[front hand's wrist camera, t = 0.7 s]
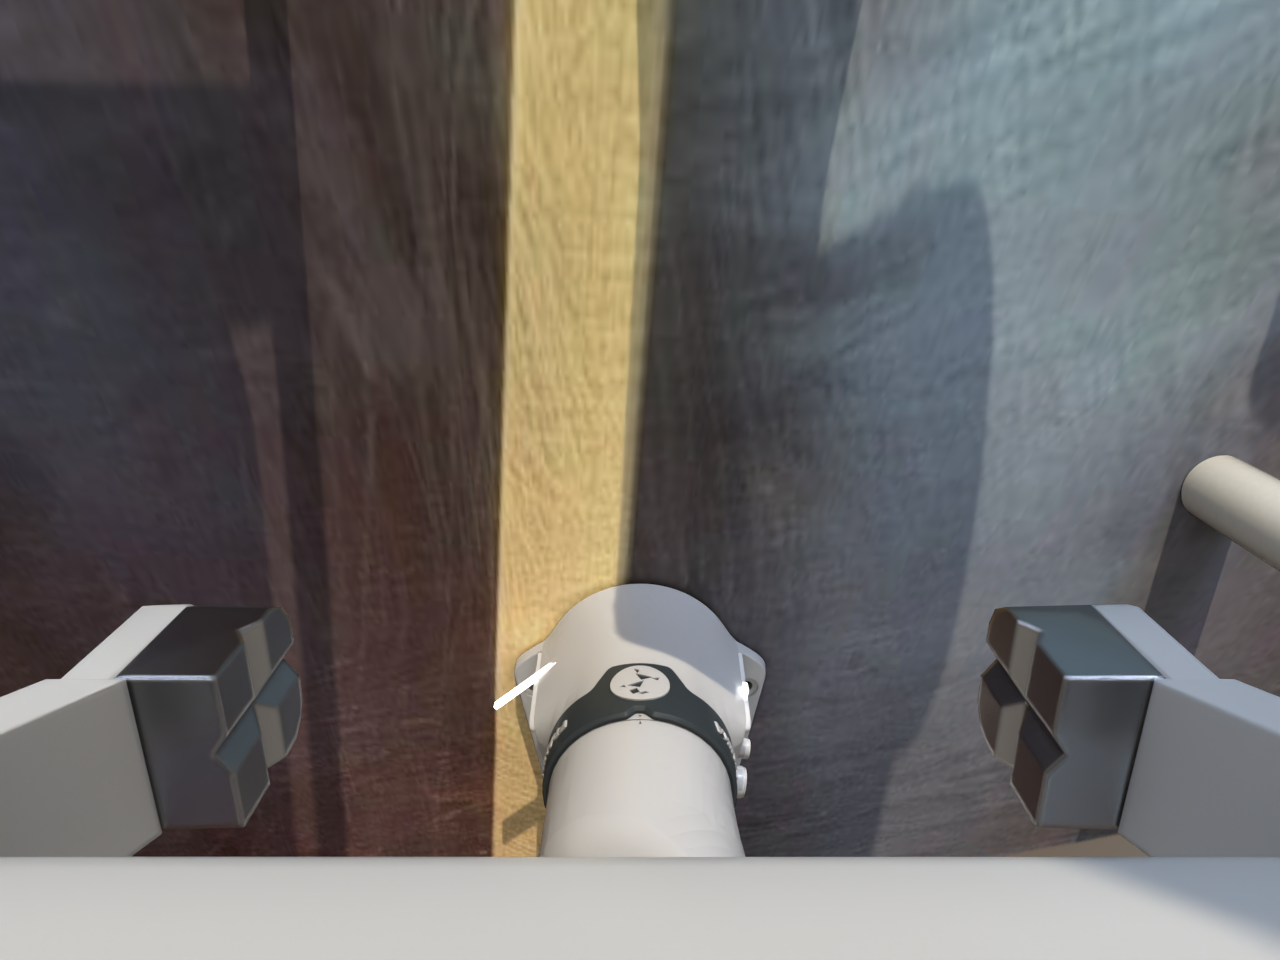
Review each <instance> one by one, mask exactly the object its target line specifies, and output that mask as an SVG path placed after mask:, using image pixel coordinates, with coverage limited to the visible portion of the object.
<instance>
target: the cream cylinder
mask: <svg viewBox="0 0 1280 960" xmlns="http://www.w3.org/2000/svg"><path fill="white" fill-rule="evenodd" d="M1181 498H1182V502H1183V505H1184V507H1185V508H1186V510H1187V511H1188V512H1189V513H1190V514H1192V515H1193V516H1195V517H1196V518H1198V519H1199V520H1201V521H1203V522H1204V523H1206V524H1207V525H1209V526H1210V527H1212V528H1213V529H1215V530H1216V531H1218V532H1219V533H1221V534H1223V535H1224V536H1226V537H1227V538H1229V539H1230V540H1232V541H1233V542H1235V543H1236V544H1238V545H1239V546H1241V547H1243V548H1244V549H1246V550H1247V551H1249V552H1250V553H1252V554H1253V555H1255V556H1256V557H1258V558H1260V559H1261V560H1263V561H1264V562H1266V563H1267V564H1269V565H1270V566H1272V567H1273V568H1275V569H1276V570H1278V571H1280V479H1278V478H1276V477H1274V476H1272V475H1270V474H1268V473H1266V472H1264V471H1262V470H1260V469H1258V468H1256V467H1254V466H1252V465H1250V464H1248V463H1246V462H1244V461H1242V460H1240V459H1238V458H1235V457H1232V456H1215V457H1212V458H1209V459H1206V460H1204V461H1202V462H1201V463H1199V464H1198V465H1197V466H1195V467H1194V468H1193V469H1192V470H1191V471H1190V473H1189V474H1188V475H1187V477H1186V478H1185V481H1184V483H1183V486H1182V490H1181Z"/></svg>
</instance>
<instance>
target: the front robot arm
mask: <svg viewBox="0 0 1280 960" xmlns="http://www.w3.org/2000/svg"><path fill="white" fill-rule="evenodd" d="M293 642H294V639H293V634H292V629H291V624H290V619H289V616H288V614H287V613H286V612H285V611H284V610H283V609H282V607H266V606H212V605H196V606H193V605H191V604H179V605H152V606H142V607H141V608H140V609H139V610H138V611H137V612H135V613H134V614H133V615H132V616H131V617H130V618H129V619H128V620H126V621H125V622H124V623H123V624H122V625H121V626H120V627H119V628H117V629H116V630H115V631H114V632H113V633H112V634H111V635H110V636H108V637H107V638H106V639H105V640H104V641H103V642H102V643H101V644H99V645H98V646H97V647H96V648H95V649H94V650H93V651H92V652H90V653H89V654H88V655H87V656H86V657H85V658H84V659H83V660H81V661H80V662H79V663H78V664H77V665H76V666H75V667H74V668H72V669H71V670H70V671H69V672H68V673H67V674H66V675H65V676H63V677H62V678H61V679H45V680H43V681H40V682H38V683H35V684H33V685H30V686H28V687H25V688H22V689H20V690H17V691H15V692H12V693H10V694H7V695H5V696H2V697H0V960H1280V697H1278V696H1275V695H1273V694H1270V693H1268V692H1265V691H1263V690H1260V689H1257V688H1255V687H1252V686H1250V685H1247V684H1245V683H1242V682H1240V681H1237V680H1235V679H1219V678H1218V677H1217V676H1215V675H1214V674H1213V673H1212V672H1211V671H1210V670H1209V669H1208V668H1206V667H1205V666H1204V665H1203V664H1202V663H1201V662H1200V661H1199V660H1198V659H1196V658H1195V657H1194V656H1193V655H1192V654H1191V653H1190V652H1189V651H1187V650H1186V649H1185V648H1184V647H1183V646H1182V645H1181V644H1180V643H1178V642H1177V641H1176V640H1175V639H1174V638H1173V637H1172V636H1171V635H1169V634H1168V633H1167V632H1166V631H1165V630H1164V629H1163V628H1162V627H1161V626H1159V625H1158V624H1157V623H1156V622H1155V621H1154V620H1153V619H1152V618H1150V617H1149V616H1148V615H1147V614H1146V613H1145V612H1144V611H1143V610H1141V609H1140V608H1139V607H1136V606H1132V605H1129V604H1117V605H1094V606H1091V605H1066V606H1024V607H1003V608H998V609H995V611H994V613H993V615H992V617H991V620H990V622H989V627H988V633H987V639H986V642H987V644H988V646H989V647H990V649H991V650H992V652H993V653H994V655H995V656H996V658H997V659H996V660H995V661H994V662H993V663H992V664H991V665H990V666H989V667H988V668H987V669H986V670H985V671H984V672H983V673H982V675H981V677H980V685H979V693H978V711H979V721H980V727H981V730H982V733H983V736H984V739H985V742H986V744H987V745H988V747H989V749H990V751H991V753H992V754H993V756H994V757H995V758H997V759H998V760H1000V761H1001V762H1003V763H1005V764H1006V765H1008V766H1010V767H1011V768H1013V769H1012V775H1011V781H1010V785H1011V787H1012V788H1013V790H1014V792H1015V793H1016V795H1017V797H1018V798H1019V800H1020V802H1021V803H1022V805H1023V807H1024V808H1025V810H1026V812H1027V813H1028V815H1029V817H1030V818H1031V820H1032V822H1033V823H1034V825H1035V827H1040V828H1077V829H1114V830H1118V834H1119V835H1121V836H1122V837H1123V838H1125V839H1126V840H1128V841H1129V842H1130V843H1132V844H1133V845H1134V846H1136V847H1137V848H1138V849H1140V850H1141V851H1142V852H1144V853H1145V854H1146V855H1148V856H1149V857H745V853H744V850H743V846H742V842H741V839H740V834H739V830H738V826H737V821H736V815H735V810H734V808H735V805H736V799H737V798H738V799H741V798H743V797H744V795H745V791H746V784H747V771H746V768H745V767H743V766H740V763H741V759H748V758H749V755H750V749H751V743H750V739H748V735H749V732H750V728H751V725H752V721H753V718H754V714H755V711H756V707H757V704H758V700H759V697H760V694H761V690H762V687H763V683H764V680H765V675H766V670H765V662H764V660H763V659H762V658H761V657H760V656H759V655H758V654H757V653H755V652H754V651H752V650H751V649H749V648H748V647H746V646H744V645H742V644H741V643H739V642H737V641H736V640H735V639H734V638H733V637H732V636H731V635H730V634H729V632H728V631H727V630H726V628H725V627H724V625H723V624H722V622H721V621H720V620H719V619H718V617H717V616H716V615H715V614H714V613H713V612H712V611H711V610H710V609H709V608H708V607H706V606H705V605H704V604H702V603H701V602H700V601H698V600H697V599H695V598H693V597H691V596H690V595H688V594H685V593H683V592H681V591H678V590H676V589H672V588H669V587H665V586H660V585H654V584H626V585H620V586H615V587H611V588H608V589H604V590H602V591H599V592H597V593H595V594H592V595H590V596H589V597H587V598H585V599H583V600H582V601H580V602H579V603H578V604H576V605H575V606H574V607H573V608H571V609H570V610H569V611H568V612H567V613H566V614H565V615H564V616H563V617H562V619H561V620H560V621H559V623H558V624H557V625H556V627H555V628H554V630H553V631H552V632H551V634H550V635H549V636H548V637H547V638H546V639H545V640H544V641H543V642H541V643H539V644H538V645H536V646H534V647H533V648H531V649H529V650H528V651H526V652H525V653H523V654H522V655H521V656H520V657H519V658H518V659H517V660H516V662H515V671H514V675H515V680H516V683H517V687H515V688H514V689H513V690H511V691H510V692H508V693H507V694H506V695H504V696H503V697H502V698H500V699H499V700H497V701H496V702H495V704H494V708H495V709H496V710H497V709H499V708H500V707H501V706H503V705H504V704H506V703H507V702H508V701H510V700H511V699H513V698H514V697H515V696H517V695H518V694H520V697H521V700H522V704H523V707H524V711H525V714H526V718H527V721H528V725H529V728H530V731H531V735H532V738H533V742H534V745H535V749H536V752H537V756H538V759H539V763H540V766H541V770H542V777H543V799H544V805H545V808H546V812H545V819H544V826H543V833H542V840H541V847H540V854H539V857H131V856H132V855H134V854H135V853H137V852H138V851H139V850H141V849H142V848H143V847H145V846H146V845H147V844H149V843H150V842H151V841H153V840H154V839H156V838H157V837H158V836H160V835H161V834H162V830H166V829H202V828H238V827H245V825H246V823H247V822H248V820H249V818H250V817H251V815H252V813H253V812H254V810H255V808H256V807H257V805H258V803H259V802H260V800H261V798H262V797H263V795H264V793H265V792H266V790H267V788H268V787H269V785H270V781H269V775H268V769H267V768H269V767H270V766H272V765H274V764H275V763H277V762H279V761H280V760H282V759H283V758H285V757H286V756H287V754H288V752H289V751H290V749H291V747H292V745H293V743H294V742H295V740H296V736H297V732H298V728H299V724H300V720H301V716H302V690H301V683H300V676H299V675H298V673H297V672H296V671H295V670H294V669H293V668H292V667H291V666H290V665H289V664H288V663H287V662H286V661H285V660H284V659H283V658H284V656H285V655H286V653H287V652H288V650H289V649H290V647H291V646H292V644H293ZM746 681H749V682H751V683H750V684H747V683H746ZM532 684H534V685H532Z"/></svg>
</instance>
